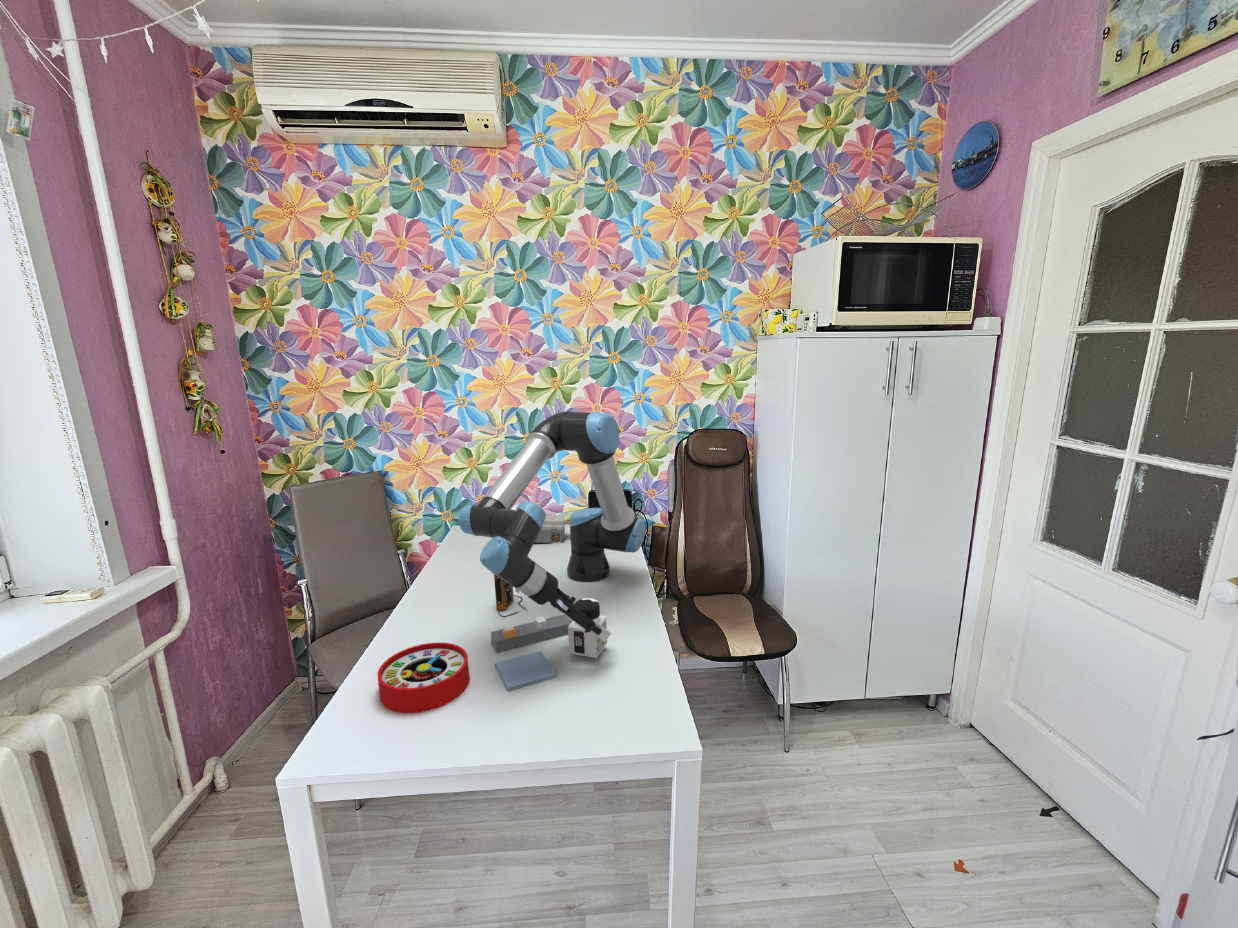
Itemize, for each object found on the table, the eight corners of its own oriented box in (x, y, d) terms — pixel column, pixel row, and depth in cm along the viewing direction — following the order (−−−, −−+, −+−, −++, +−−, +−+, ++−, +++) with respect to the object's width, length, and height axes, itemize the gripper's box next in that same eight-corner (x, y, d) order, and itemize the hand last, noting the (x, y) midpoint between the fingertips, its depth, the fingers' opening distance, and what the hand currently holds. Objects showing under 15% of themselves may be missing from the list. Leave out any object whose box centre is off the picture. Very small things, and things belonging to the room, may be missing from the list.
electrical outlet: (510, 536, 234) (510, 513, 232) (576, 536, 237) (576, 514, 235) (507, 544, 222) (507, 521, 220) (576, 545, 225) (577, 522, 223)
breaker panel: (580, 620, 158) (579, 604, 157) (588, 628, 153) (587, 612, 152) (491, 642, 147) (490, 625, 146) (496, 652, 141) (495, 634, 141)
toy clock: (357, 681, 120) (415, 637, 139) (360, 705, 121) (417, 658, 140) (433, 696, 114) (483, 648, 133) (436, 721, 115) (485, 669, 134)
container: (597, 658, 135) (595, 610, 132) (568, 653, 137) (566, 606, 135) (607, 643, 142) (606, 597, 140) (580, 638, 145) (578, 593, 142)
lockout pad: (540, 653, 141) (540, 650, 140) (556, 676, 130) (556, 673, 130) (494, 665, 135) (494, 662, 135) (507, 691, 125) (507, 688, 125)
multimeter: (522, 618, 160) (518, 554, 156) (491, 616, 162) (486, 552, 158) (539, 597, 174) (536, 538, 170) (510, 595, 176) (506, 536, 172)
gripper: (513, 579, 140) (572, 620, 150) (542, 615, 119) (608, 661, 129) (532, 555, 141) (589, 598, 151) (563, 588, 121) (627, 635, 130)
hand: (598, 627), depth 140 cm, fingers closed on container, 10 cm apart
